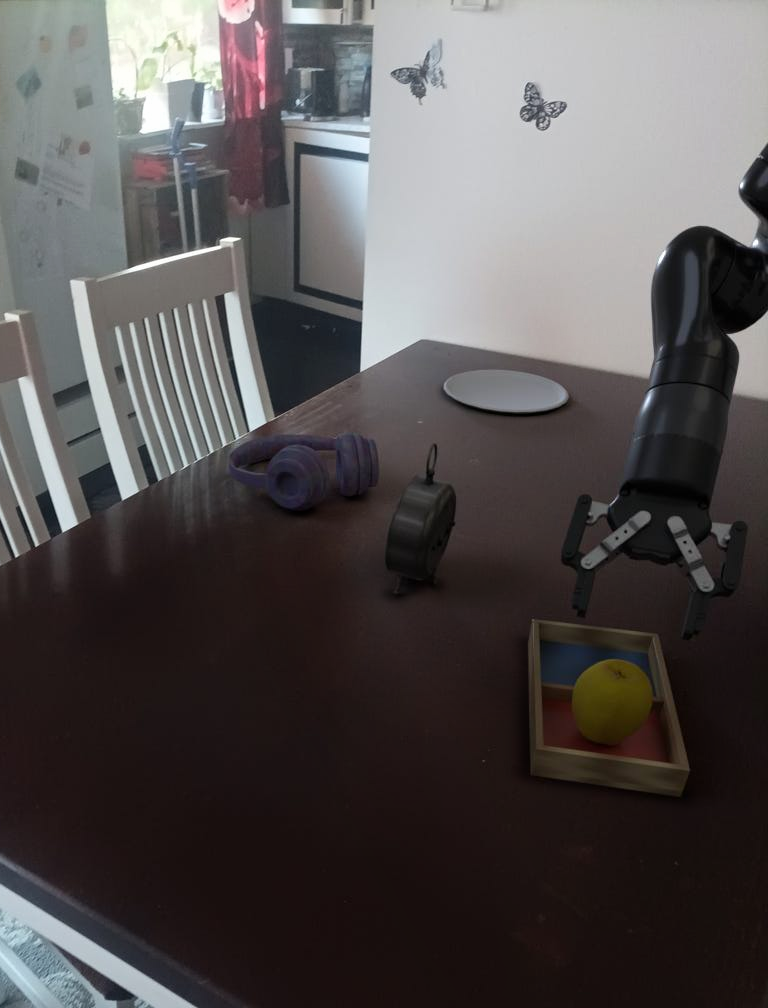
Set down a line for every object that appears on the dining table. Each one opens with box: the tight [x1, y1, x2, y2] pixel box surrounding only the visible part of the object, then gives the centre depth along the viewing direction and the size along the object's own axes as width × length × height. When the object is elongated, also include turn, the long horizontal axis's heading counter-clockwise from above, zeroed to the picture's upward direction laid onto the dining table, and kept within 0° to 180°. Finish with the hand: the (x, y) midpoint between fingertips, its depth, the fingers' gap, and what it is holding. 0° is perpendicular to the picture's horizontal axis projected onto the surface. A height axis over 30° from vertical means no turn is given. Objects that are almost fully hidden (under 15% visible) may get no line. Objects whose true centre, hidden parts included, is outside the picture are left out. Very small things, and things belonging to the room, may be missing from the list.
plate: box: [443, 369, 570, 415], centre depth 152 cm, size 21×21×1 cm
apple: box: [572, 659, 653, 745], centre depth 76 cm, size 6×6×8 cm
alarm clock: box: [384, 442, 457, 597], centre depth 97 cm, size 11×5×16 cm, turn 154°
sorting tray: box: [527, 618, 691, 798], centre depth 82 cm, size 12×20×3 cm, turn 168°
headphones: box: [227, 432, 380, 512], centre depth 120 cm, size 18×8×20 cm
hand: (633, 626), depth 76 cm, fingers open, 8 cm apart
